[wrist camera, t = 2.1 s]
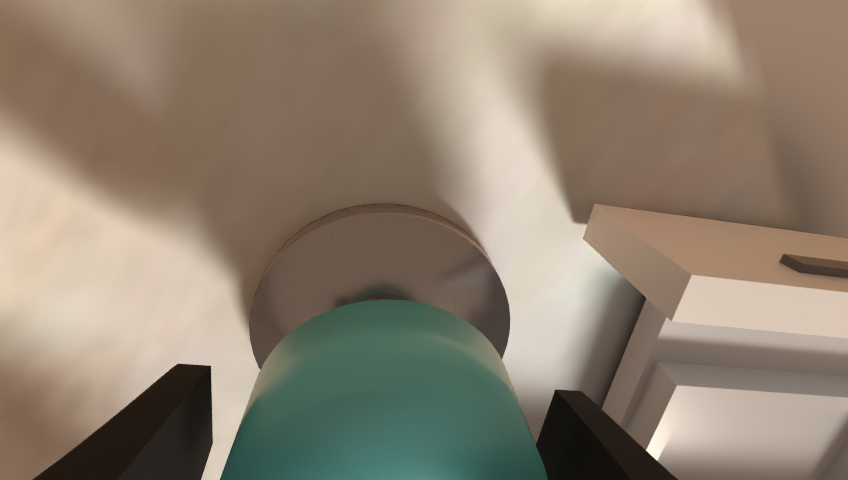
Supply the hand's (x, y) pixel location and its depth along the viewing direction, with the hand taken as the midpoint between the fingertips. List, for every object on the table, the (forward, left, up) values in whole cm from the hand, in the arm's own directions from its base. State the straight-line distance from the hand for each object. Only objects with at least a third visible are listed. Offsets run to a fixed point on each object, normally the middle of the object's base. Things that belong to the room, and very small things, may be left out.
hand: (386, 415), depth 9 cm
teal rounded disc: (0, 0, 0) cm, 0 cm away
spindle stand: (0, 0, -4) cm, 4 cm away
